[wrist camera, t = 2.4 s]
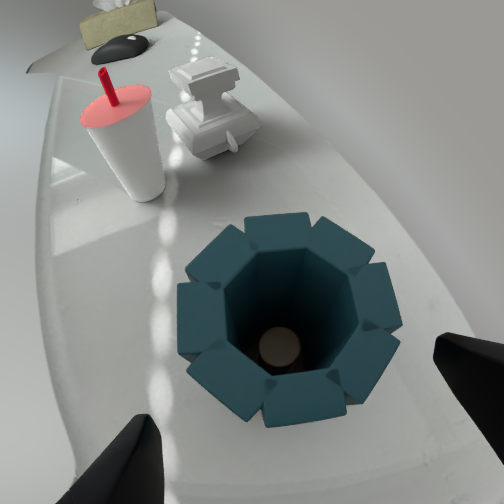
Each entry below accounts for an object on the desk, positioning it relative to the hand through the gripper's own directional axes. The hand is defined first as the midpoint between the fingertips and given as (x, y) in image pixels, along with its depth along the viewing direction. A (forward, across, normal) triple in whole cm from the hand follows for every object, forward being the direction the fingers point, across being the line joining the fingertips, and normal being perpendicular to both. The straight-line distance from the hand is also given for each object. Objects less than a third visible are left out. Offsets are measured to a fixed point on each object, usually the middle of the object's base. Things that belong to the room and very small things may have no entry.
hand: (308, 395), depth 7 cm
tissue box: (+64, +17, -49) cm, 82 cm away
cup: (+20, +7, -6) cm, 22 cm away
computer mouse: (+49, +15, -35) cm, 62 cm away
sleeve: (+8, 0, +5) cm, 9 cm away
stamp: (+23, 0, -9) cm, 25 cm away
